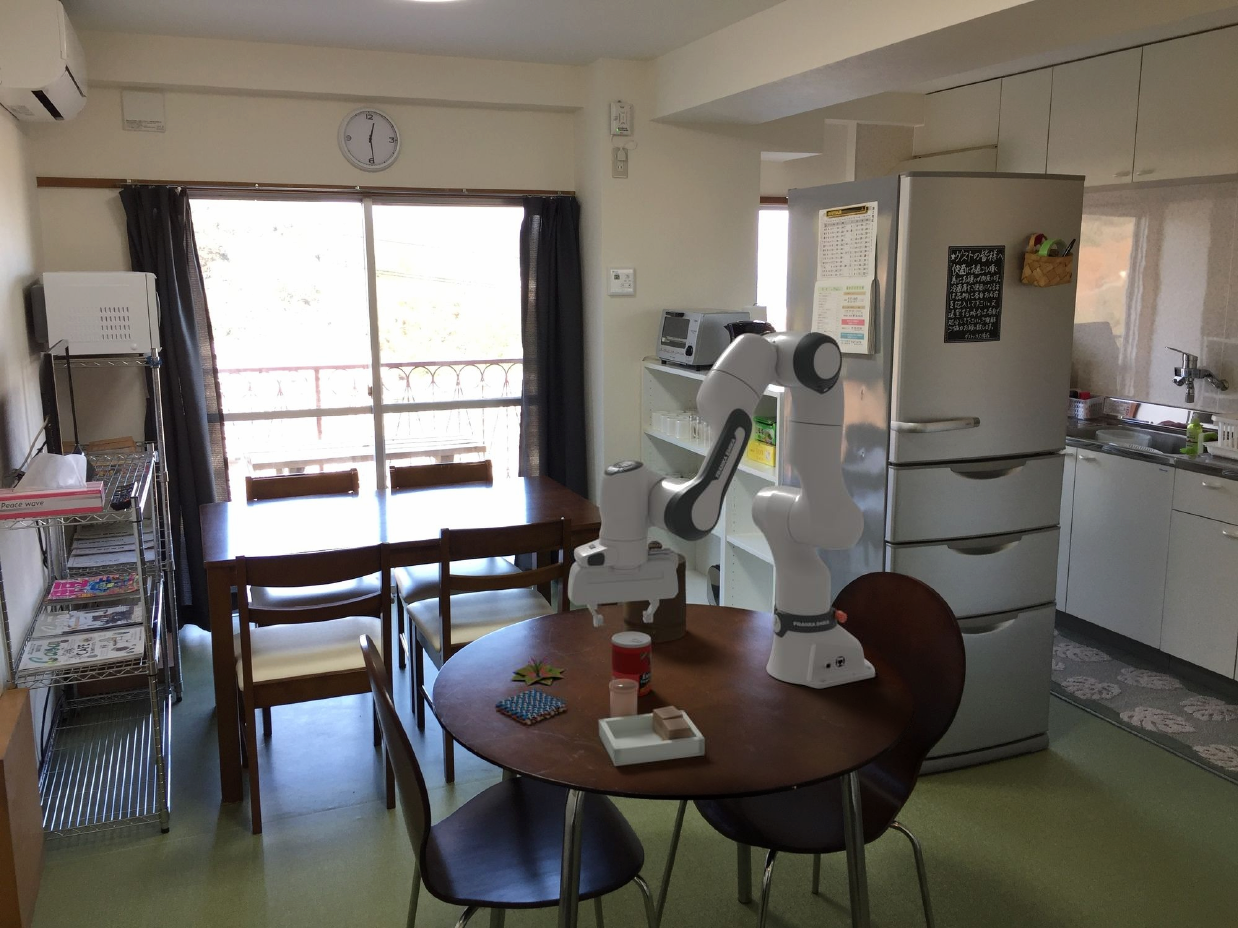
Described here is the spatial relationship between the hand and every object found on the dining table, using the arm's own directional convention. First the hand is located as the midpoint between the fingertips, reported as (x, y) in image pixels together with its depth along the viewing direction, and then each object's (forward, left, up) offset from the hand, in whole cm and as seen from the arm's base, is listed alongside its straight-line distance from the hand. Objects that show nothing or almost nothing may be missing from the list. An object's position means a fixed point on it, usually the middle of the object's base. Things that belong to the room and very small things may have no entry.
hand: (623, 623), depth 177 cm
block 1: (-6, +8, -18) cm, 21 cm away
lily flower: (+12, -25, -20) cm, 34 cm away
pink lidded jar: (0, 0, -19) cm, 19 cm away
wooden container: (-19, -44, -19) cm, 52 cm away
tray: (-2, +11, -19) cm, 22 cm away
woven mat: (+16, -9, -20) cm, 27 cm away
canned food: (-5, -13, -19) cm, 24 cm away
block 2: (-6, +13, -18) cm, 23 cm away
